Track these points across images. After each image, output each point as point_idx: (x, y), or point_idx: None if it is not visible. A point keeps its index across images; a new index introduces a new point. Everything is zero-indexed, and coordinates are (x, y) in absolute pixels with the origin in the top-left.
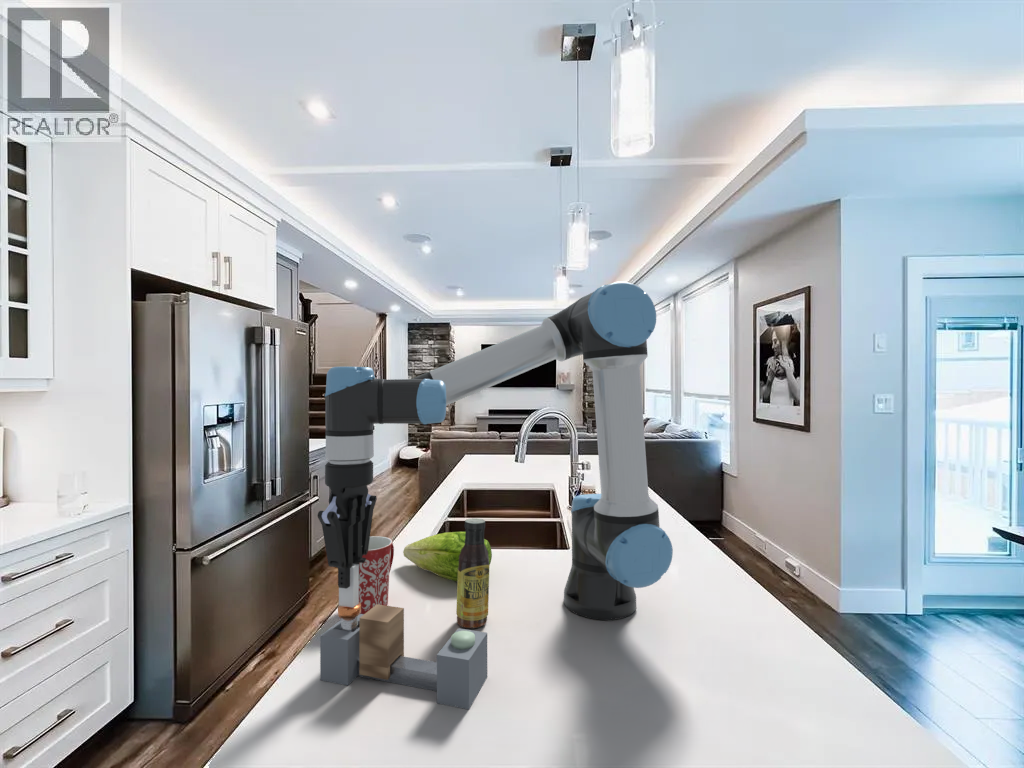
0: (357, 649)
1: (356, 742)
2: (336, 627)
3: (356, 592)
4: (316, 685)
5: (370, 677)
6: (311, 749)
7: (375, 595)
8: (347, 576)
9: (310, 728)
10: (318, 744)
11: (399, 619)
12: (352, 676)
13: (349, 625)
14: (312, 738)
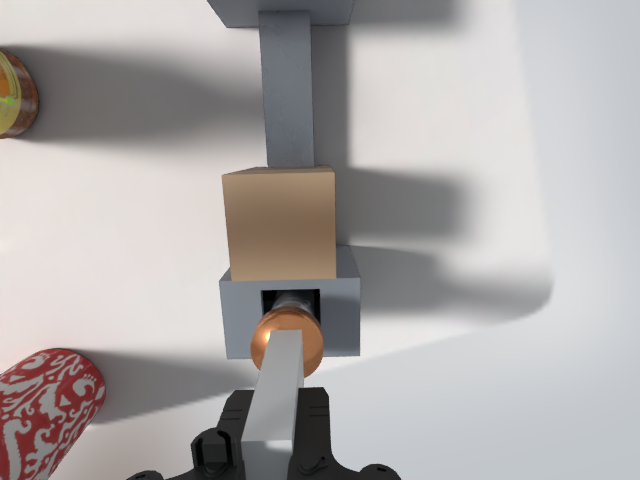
0: None
1: (489, 128)
2: None
3: (278, 354)
4: (365, 301)
5: None
6: (518, 195)
7: (52, 384)
8: (315, 423)
9: (472, 231)
10: (505, 191)
11: (258, 172)
12: None
13: (309, 312)
14: (494, 211)
